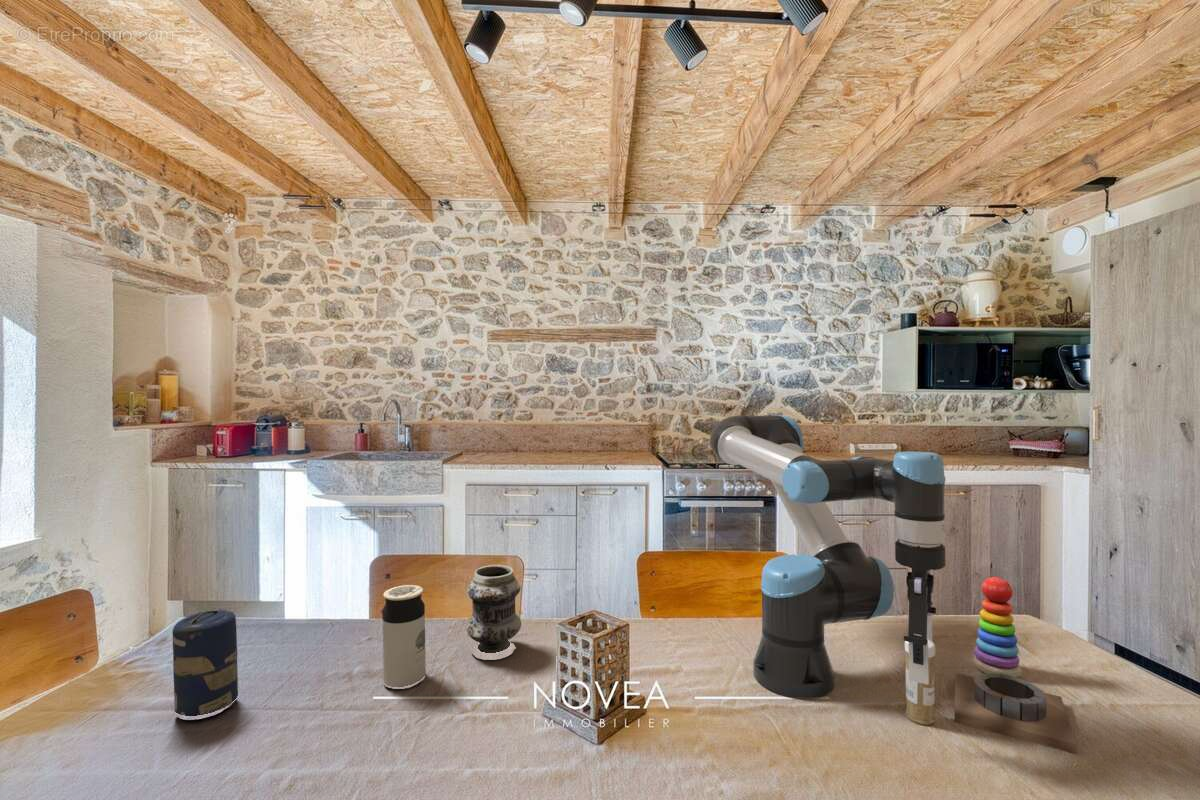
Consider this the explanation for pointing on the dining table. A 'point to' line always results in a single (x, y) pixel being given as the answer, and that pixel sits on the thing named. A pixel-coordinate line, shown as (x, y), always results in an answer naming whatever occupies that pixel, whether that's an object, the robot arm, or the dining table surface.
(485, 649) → the apothecary jar
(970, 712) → the base board
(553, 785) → the dining table surface
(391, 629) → the travel mug
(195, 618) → the canister
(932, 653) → the sprinkles bottle
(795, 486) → the robot arm
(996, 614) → the stacking toy
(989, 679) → the collar
